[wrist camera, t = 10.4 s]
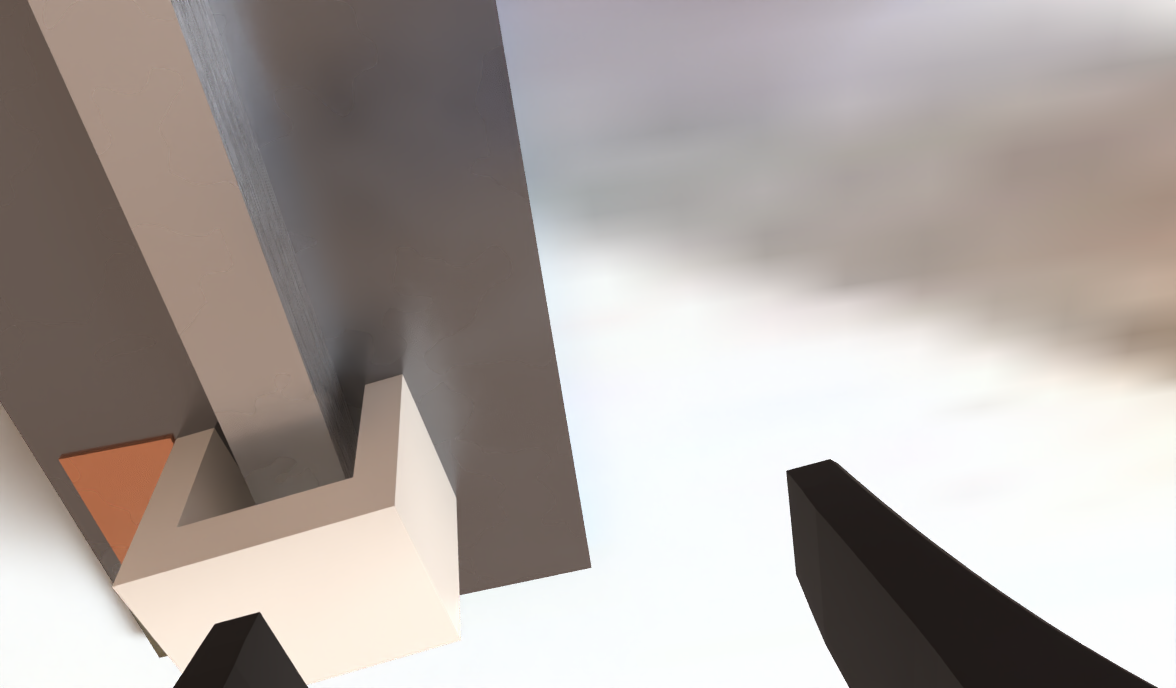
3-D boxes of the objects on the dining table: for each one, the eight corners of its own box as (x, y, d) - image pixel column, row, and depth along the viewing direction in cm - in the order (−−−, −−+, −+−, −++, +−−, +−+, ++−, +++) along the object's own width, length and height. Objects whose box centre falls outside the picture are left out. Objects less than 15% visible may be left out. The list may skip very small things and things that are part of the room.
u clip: (402, 374, 19) (394, 506, 15) (456, 497, 21) (461, 639, 17) (176, 438, 19) (112, 587, 15) (253, 555, 21) (213, 712, 17)
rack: (463, -183, 14) (468, -188, 12) (586, 547, 24) (604, 624, 22) (-260, -81, 14) (-407, -65, 11) (167, 633, 23) (137, 723, 21)
